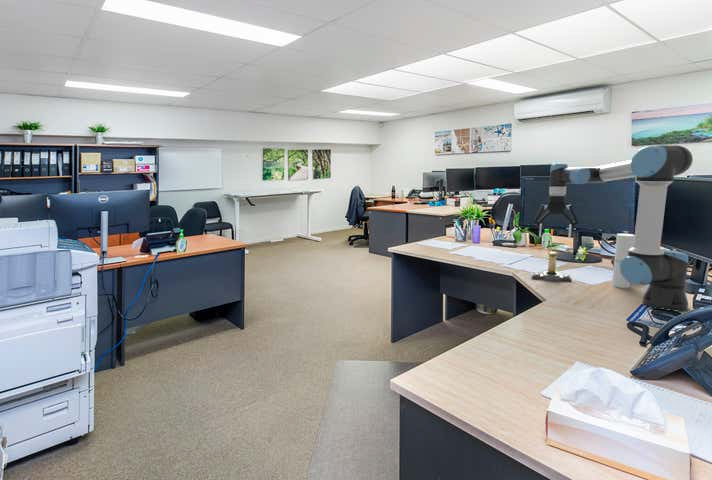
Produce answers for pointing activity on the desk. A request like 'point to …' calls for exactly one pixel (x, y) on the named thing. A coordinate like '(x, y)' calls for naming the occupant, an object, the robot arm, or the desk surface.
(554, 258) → the link pin
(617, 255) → the cylindrical container
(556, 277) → the chain ends
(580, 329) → the desk surface
